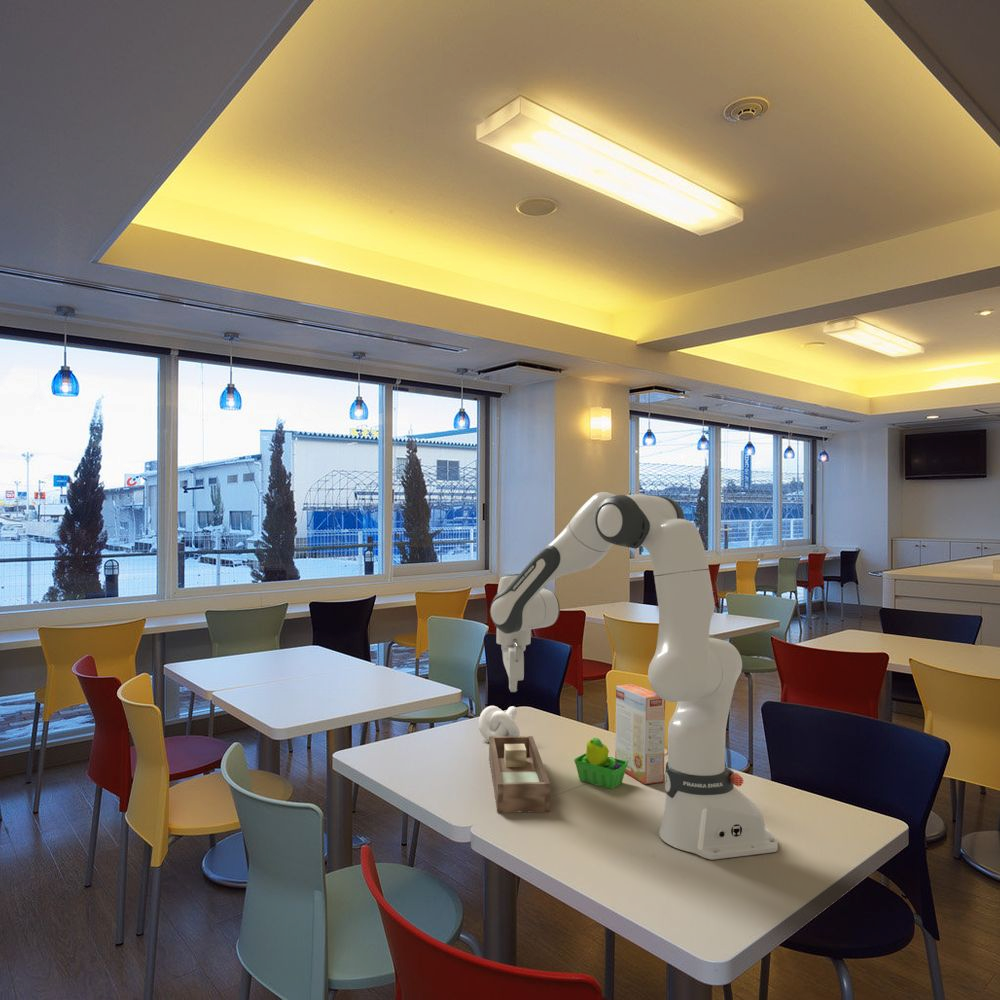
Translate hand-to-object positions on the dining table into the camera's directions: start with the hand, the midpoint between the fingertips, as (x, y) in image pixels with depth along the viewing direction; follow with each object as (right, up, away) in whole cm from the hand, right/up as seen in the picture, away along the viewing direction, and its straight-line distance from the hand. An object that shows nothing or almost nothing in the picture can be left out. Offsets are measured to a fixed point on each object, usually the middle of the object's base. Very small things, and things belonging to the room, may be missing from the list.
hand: (512, 690), depth 188 cm
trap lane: (+1, -19, -13) cm, 23 cm away
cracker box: (+31, -19, -6) cm, 37 cm away
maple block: (0, -16, -8) cm, 18 cm away
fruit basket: (+21, -19, -12) cm, 31 cm away
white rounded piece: (-3, -20, +21) cm, 29 cm away
